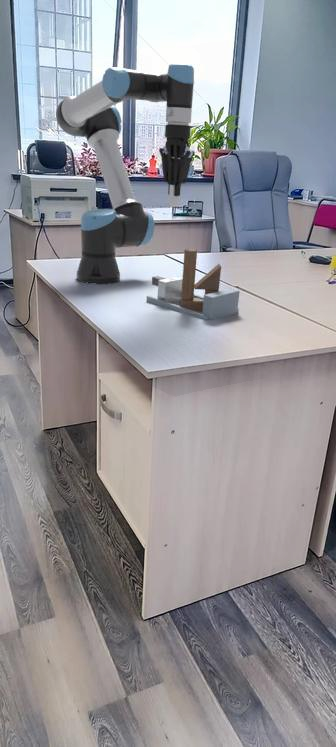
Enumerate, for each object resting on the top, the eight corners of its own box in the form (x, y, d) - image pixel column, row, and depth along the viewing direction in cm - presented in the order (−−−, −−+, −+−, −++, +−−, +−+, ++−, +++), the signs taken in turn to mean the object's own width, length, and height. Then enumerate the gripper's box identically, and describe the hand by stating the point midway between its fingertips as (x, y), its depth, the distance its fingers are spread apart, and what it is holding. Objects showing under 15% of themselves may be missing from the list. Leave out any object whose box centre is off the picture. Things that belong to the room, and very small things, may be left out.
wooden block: (216, 314, 157) (222, 252, 150) (180, 312, 157) (184, 250, 149) (215, 310, 161) (220, 249, 153) (179, 308, 160) (183, 248, 152)
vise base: (146, 302, 164) (147, 278, 161) (178, 295, 173) (179, 272, 170) (207, 324, 148) (209, 298, 145) (238, 315, 158) (241, 290, 154)
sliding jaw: (141, 297, 167) (142, 275, 165) (165, 292, 174) (167, 270, 172) (164, 305, 161) (165, 282, 158) (188, 299, 168) (189, 277, 165)
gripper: (153, 122, 161) (150, 204, 171) (185, 124, 153) (179, 210, 162) (171, 123, 166) (167, 203, 175) (202, 125, 158) (196, 208, 167)
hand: (173, 206), depth 169 cm, fingers closed
